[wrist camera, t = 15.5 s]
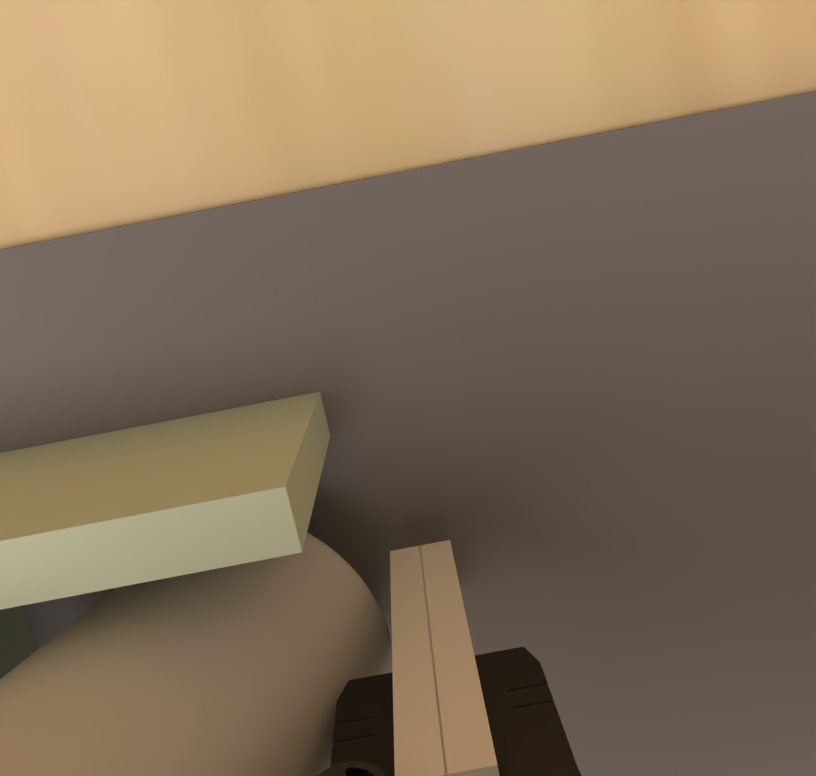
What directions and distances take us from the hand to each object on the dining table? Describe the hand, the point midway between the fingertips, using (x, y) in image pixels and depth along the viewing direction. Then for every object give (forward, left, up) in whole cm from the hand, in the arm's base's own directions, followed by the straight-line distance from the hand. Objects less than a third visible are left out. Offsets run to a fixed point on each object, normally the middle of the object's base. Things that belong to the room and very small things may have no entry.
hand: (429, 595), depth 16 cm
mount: (0, -2, -3) cm, 3 cm away
